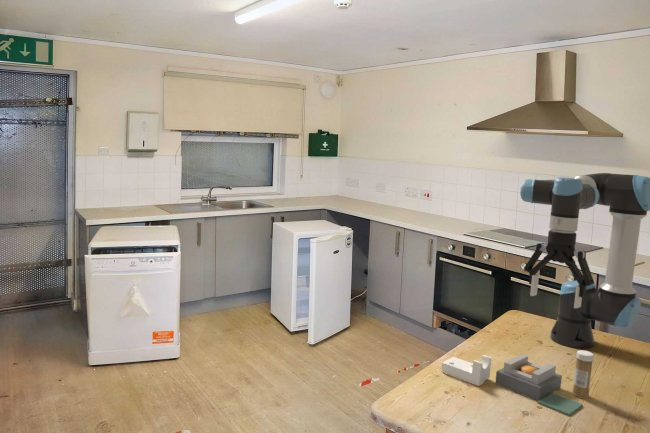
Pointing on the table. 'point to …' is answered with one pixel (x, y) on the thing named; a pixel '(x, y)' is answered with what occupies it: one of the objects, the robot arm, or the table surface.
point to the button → (528, 369)
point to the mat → (560, 404)
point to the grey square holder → (528, 378)
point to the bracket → (468, 369)
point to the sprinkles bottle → (582, 374)
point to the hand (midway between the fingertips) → (554, 301)
